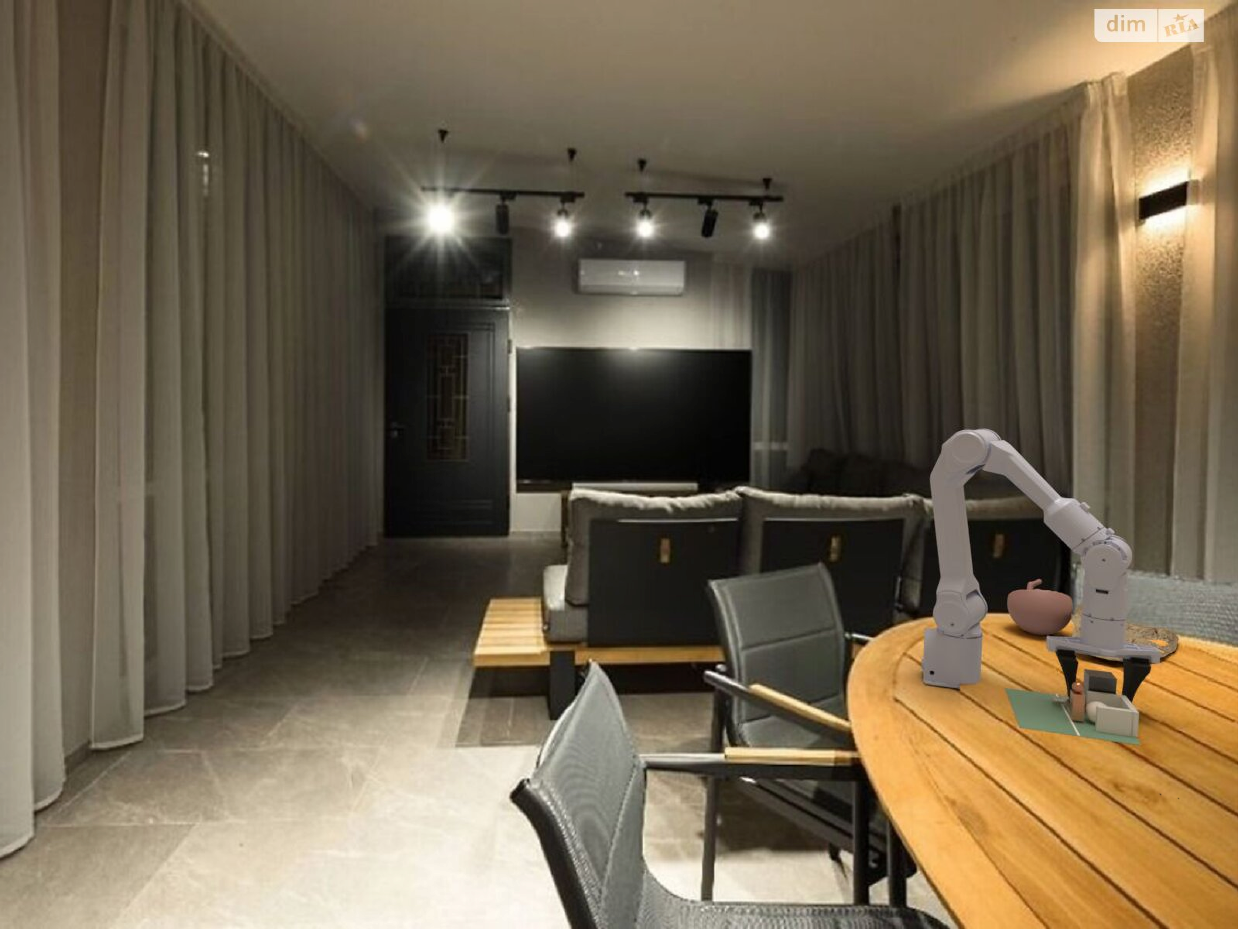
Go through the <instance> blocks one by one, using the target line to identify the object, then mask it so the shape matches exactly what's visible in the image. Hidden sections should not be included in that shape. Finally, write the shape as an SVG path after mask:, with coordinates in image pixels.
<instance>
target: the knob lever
mask: <svg viewBox="0 0 1238 929" xmlns="http://www.w3.org/2000/svg"><path fill="white" fill-rule="evenodd" d="M1117 683H1118V678H1117V677H1116V676H1115V675H1114V674H1113V672H1111V671H1105V670H1096V669H1090V668H1089V669H1088V668H1083V683H1082V682H1081V681H1076V682H1074V683H1073V684H1072V689H1071V691H1070V699H1069V698H1064V697H1056V696H1052V703H1060V704H1065V706H1066V708H1067V710H1068V712H1069V715H1070V717H1071V719H1072V720H1075V721H1082V722H1084V709H1085V708H1086V697H1087V691H1093V692H1101V693H1109V694H1117V686H1118V685H1117Z"/></svg>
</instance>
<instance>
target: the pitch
mask: <svg viewBox="0 0 1238 929" xmlns="http://www.w3.org/2000/svg"><path fill="white" fill-rule="evenodd" d="M1004 689H1005V693H1006V695H1007V698H1008V701H1009V702H1010V705H1011V709H1012V710H1013V715H1014V716H1015V719H1016V722H1017V725H1018V728H1020V729H1026V730H1033V731H1039V732H1047V733H1055V734H1060V735H1066V736H1073V737H1074V736H1075V737H1080V738H1088V739H1094V740H1101V741H1106V742H1107V741H1108V742H1114V743H1115V742H1116V743H1119V744H1127V745H1128V744H1129V745H1136V746H1142V743H1141V742H1140V740H1138V737H1132V736H1125V735H1118V734H1111V733H1104V732H1097V731H1096V730H1095V723H1094V722H1092V721H1090V720H1089V719H1088V717H1087V716H1086V713H1085V709H1084V722H1082V721H1075V720H1072V719H1071V717H1070V715H1069V712H1068V710H1067V708H1066V706H1065V704H1060V703H1052V696H1056V697H1064V698H1069V697H1068V695H1061V694H1058V693H1055V694H1054V693H1046V692H1041V691H1040V692H1039V691H1031V690H1024V689H1023V690H1022V689H1016V688H1015V689H1014V688H1009V687H1005V688H1004Z"/></svg>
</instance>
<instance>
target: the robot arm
mask: <svg viewBox="0 0 1238 929" xmlns="http://www.w3.org/2000/svg"><path fill="white" fill-rule="evenodd" d="M981 469H982V470H983V471H985V472H989V473H993V474H996V475H997V474H999V475H1002V476H1005V477H1006V478H1007V479H1008V480H1009V481H1010V482H1012V483H1013V484H1014V485H1015V486H1016V487H1017V488H1018V489H1019V490H1020V491H1022V492H1023V494H1025V495H1026V496H1027V497H1028V498H1029V499H1031V501H1033V502H1034V504H1036V505H1037V506H1038V507H1039V508H1040V509H1042V510H1043V523H1044V524H1045V525H1046V526H1047V527H1048V528H1049V529H1050V530H1051V531H1052V532H1053V533H1054V534H1055V535H1056V536H1057V537H1058V538H1060V540H1061V541H1062V542H1064V544H1066V546H1067V547H1068V548H1069V549H1070V550H1072V552H1073V553H1075V554H1077V555H1080V564H1081V566H1082V569H1083V570H1084V571H1085V572H1084V582H1083V585H1082V601H1081V603H1082V615H1081V632H1080V637H1072V636H1050V635H1046V643H1045V644H1046V645H1045V646H1046V649H1047V651H1048V652H1051V653H1055V656H1056V657H1057V660H1058V662H1059V665H1060V667H1061V668H1060V669H1062V674H1063V677H1064V681H1065V686H1066V692H1067V693H1066V694H1067V695H1066V696H1068V697H1069V699H1070V691H1071V689H1072V684H1073V683H1074V682H1077V674H1078V669H1079V668H1078V667H1079V661H1078V659H1077V655H1076V654H1079V655H1080V654H1082V655H1089V656H1093V655H1098V656H1107V657H1116V658H1117V659H1118V658H1123V662H1122V672H1123V673H1122V674H1123V679H1122V688H1121V689H1122V690H1121V695H1125V696H1126V697H1127V698H1128V699H1129V701H1130V702H1131V703H1132V704H1133V701H1134V698H1135V695H1136V694H1137V691H1138V689H1139V688H1140V686H1141V684H1142V683H1143V681H1144V680H1145V679H1146V678H1147V676H1148V675H1149V674H1151V671H1152V665H1151V664H1150V663H1152V664H1161V663H1160V662H1161V658H1160V652H1161V650H1158V649H1157V648H1156V647H1149V646H1142V645H1137V644H1131V643H1126V642H1125V631H1126V622H1127V613H1128V612H1127V611H1128V598H1129V597H1128V596H1129V589H1128V583H1129V577H1128V574H1129V572H1128V571H1127V569H1128V567H1130V565H1131V564H1132V560H1133V551H1132V549H1131V547H1130V545H1129V544H1128V543H1127V541H1126V539H1125V538H1122V536H1121V537H1120V536H1118V535H1116V534H1115V531H1114V530H1113V529H1112V527H1109V528H1106V527H1105V526H1104V525H1103V524H1102V523H1101V522H1100V521H1099V520H1098V519H1097V518H1096V517H1095V516H1094V515H1093V514H1092V513H1090V511H1089V510H1090V509H1091V506H1089V505H1088V503H1086V502H1085V501H1084V502H1083V501H1082V502H1081V503H1080V502H1079V501H1078V500H1077V499H1076V498H1071V497H1070V498H1067V497H1063V496H1060V494H1059V493H1057V491H1056V490H1055V489H1054V488H1053V487H1052V486H1051V485H1050V484H1049V483H1048V482H1047V481H1046V480H1045V479H1044V478H1043V477H1042V476H1041V475H1040V473H1038V471H1037V470H1035V468H1034V467H1033V466H1032V465H1031V464H1030V463H1029V462H1028V461H1027V460H1026V459H1025V458H1024V456H1022V455H1021V454H1020V453H1019V452H1018V451H1017V450H1016V449H1015V448H1014V447H1013V445H1011V444H1010V443H1009V442H1007V441H1006V440H1002V438H1001V437H1000V436H999V435H998V433H997V432H995V431H993V430H991V429H988V428H978V429H963V430H960V431H957V432H955V433H954V434H953V435H951V437H950V438H948V439H947V440H946V441H945V442H944V443H942V445H941V452H940V454H939V456H938V458H937V461H936V462H935V465H934V467H933V469H932V471H931V473H930V476H929V483H930V484H929V485H930V491H931V492H930V493H931V501H932V502H931V503H932V510H933V518H934V528H935V537H936V538H935V539H936V547H937V555H938V565H939V572H940V579H939V583H938V585H937V588H936V602H935V605H934V607H933V609H932V610H933V611H932V617H933V620H934V623H935V625H936V627H935V628H932V627H931V628H929V627H928V628H927V627H925V628H924V634H923V656H922V657H923V658H921V662H920V663H921V667H920V668H921V670H922V674H923V675H922V676H923V677H922V678H923V683H924V684H925V685H930V686H937V687H947V688H953V689H961V686H960V684H961V685H975V684H978V683H979V682H981V677H982V676H981V674H982V673H981V672H982V656H983V655H982V651H983V638H984V635H983V633H984V632H983V629H982V627H981V622H982V621H984V619H985V618H986V617H987V614H988V604H987V602H986V600H985V597H984V596H983V595H982V593H981V590H980V589H981V588H980V583H979V581H978V580H977V579H976V577H975V575H974V570H973V562H972V561H973V560H972V553H971V552H972V551H971V550H972V549H971V543H970V534H969V525H968V516H967V506H966V497H965V489H964V485H965V484H966V483H967V482H968V481H969V480H970V479H971V478H972V477H974V475H975V474H976V473H977V472H978V471H980V470H981Z"/></svg>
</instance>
